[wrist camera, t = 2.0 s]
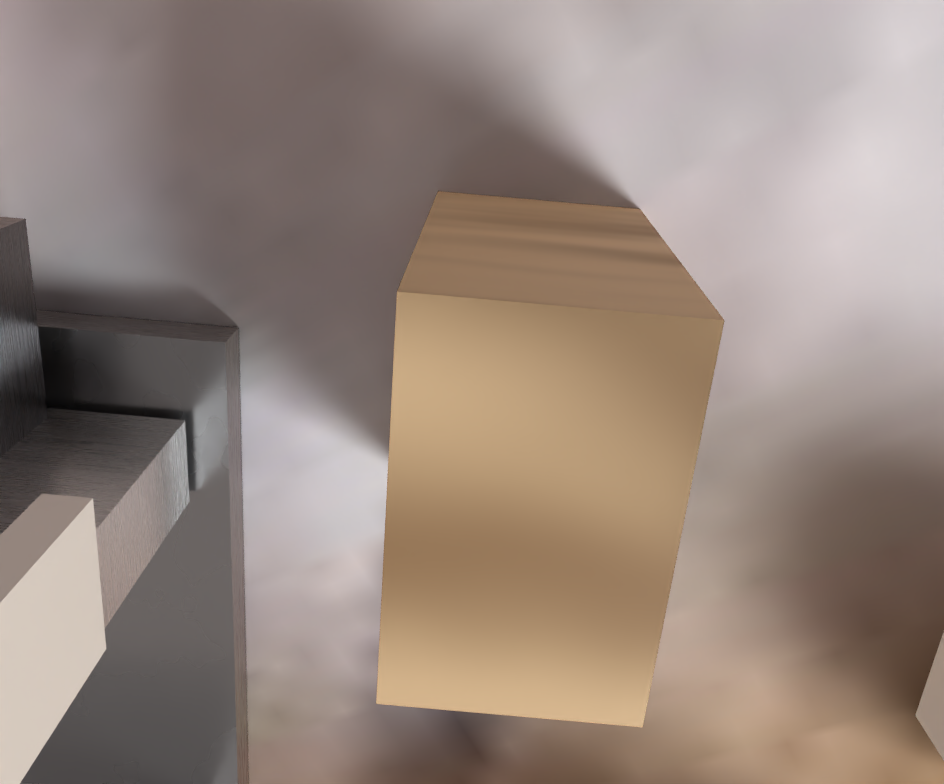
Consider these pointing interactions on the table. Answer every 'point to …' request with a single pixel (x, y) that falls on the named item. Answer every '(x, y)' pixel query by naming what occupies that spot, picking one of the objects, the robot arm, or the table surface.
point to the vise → (162, 564)
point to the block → (538, 458)
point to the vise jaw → (81, 444)
